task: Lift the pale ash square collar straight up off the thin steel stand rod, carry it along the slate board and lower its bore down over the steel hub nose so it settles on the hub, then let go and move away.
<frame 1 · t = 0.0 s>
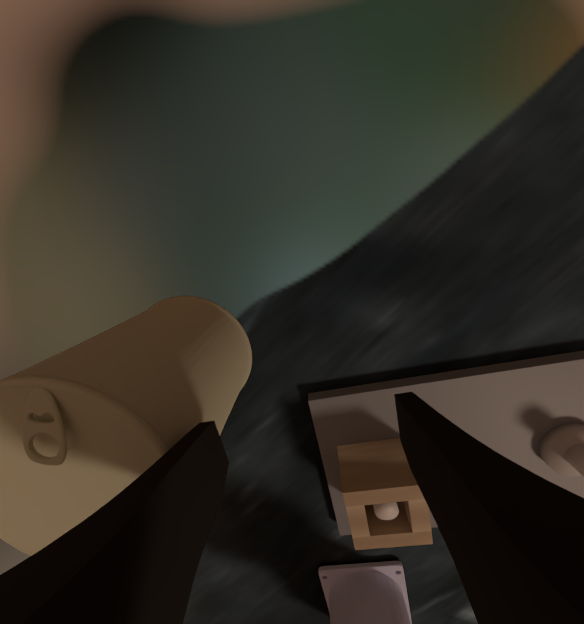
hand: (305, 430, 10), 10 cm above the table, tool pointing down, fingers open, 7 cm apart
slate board: (460, 447, 22), on the table
can: (194, 352, 21), on the table, touching gripper
ash collar: (375, 468, 22), point 1 cm above the table, touching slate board
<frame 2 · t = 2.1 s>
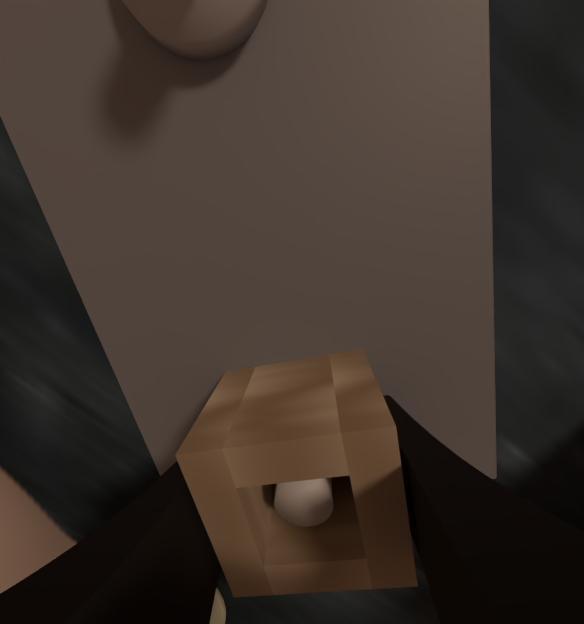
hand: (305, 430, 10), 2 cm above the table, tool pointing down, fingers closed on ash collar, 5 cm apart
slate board: (267, 239, 10), on the table
can: (153, 596, 17), on the table
ash collar: (305, 419, 11), point 1 cm above the table, touching gripper, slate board
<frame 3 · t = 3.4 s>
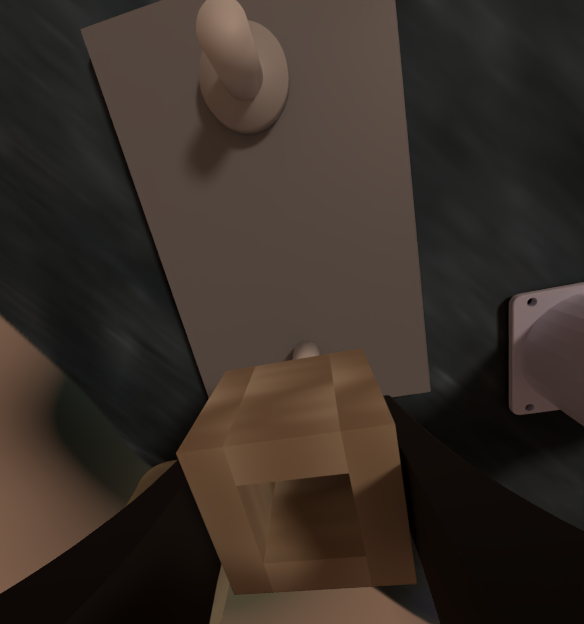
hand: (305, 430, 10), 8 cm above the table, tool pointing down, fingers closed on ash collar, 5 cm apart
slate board: (282, 236, 16), on the table
can: (193, 501, 22), on the table
ash collar: (305, 418, 11), point 7 cm above the table, touching gripper
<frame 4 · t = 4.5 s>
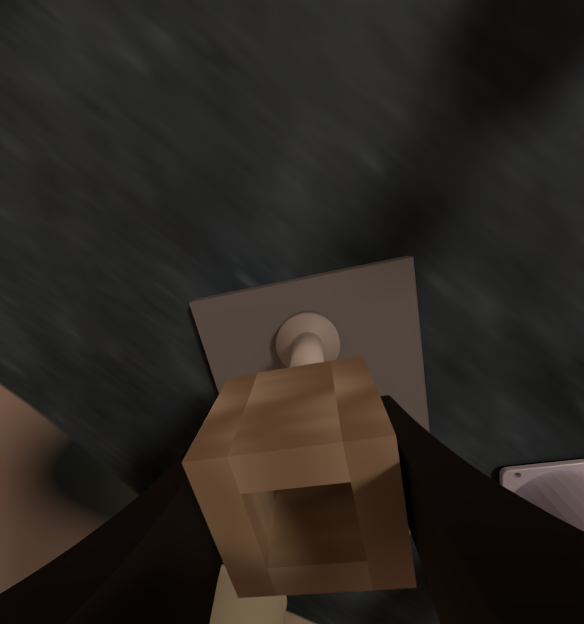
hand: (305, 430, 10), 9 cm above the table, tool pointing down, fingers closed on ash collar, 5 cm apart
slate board: (326, 420, 20), on the table
can: (241, 592, 27), on the table
ash collar: (307, 423, 11), point 8 cm above the table, touching gripper
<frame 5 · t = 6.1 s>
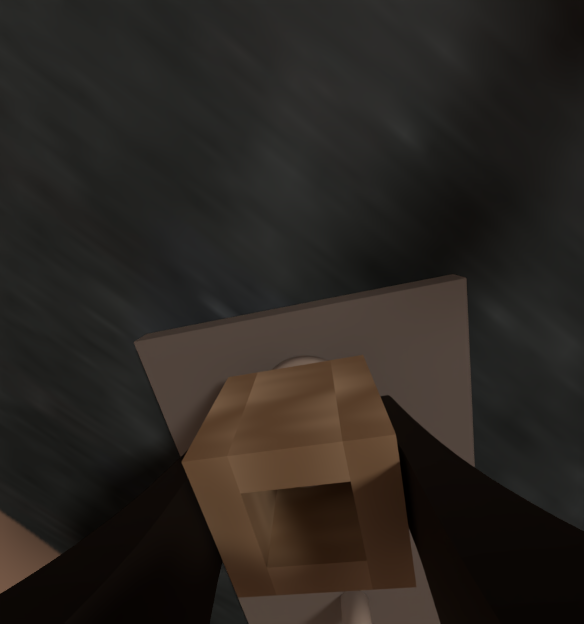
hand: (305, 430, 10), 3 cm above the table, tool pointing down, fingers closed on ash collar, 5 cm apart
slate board: (332, 493, 15), on the table
ash collar: (307, 423, 11), point 2 cm above the table, touching gripper
when the fingers open (3 cm above the table, at t = 7.1 s): ash collar stays where it is, resting on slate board.
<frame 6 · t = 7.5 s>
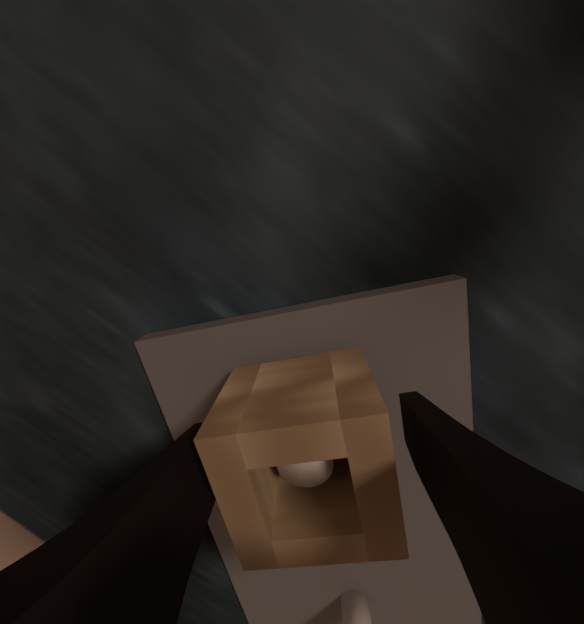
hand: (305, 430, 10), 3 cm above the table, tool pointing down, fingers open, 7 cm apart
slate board: (332, 493, 15), on the table
ash collar: (308, 412, 12), point 2 cm above the table, touching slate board
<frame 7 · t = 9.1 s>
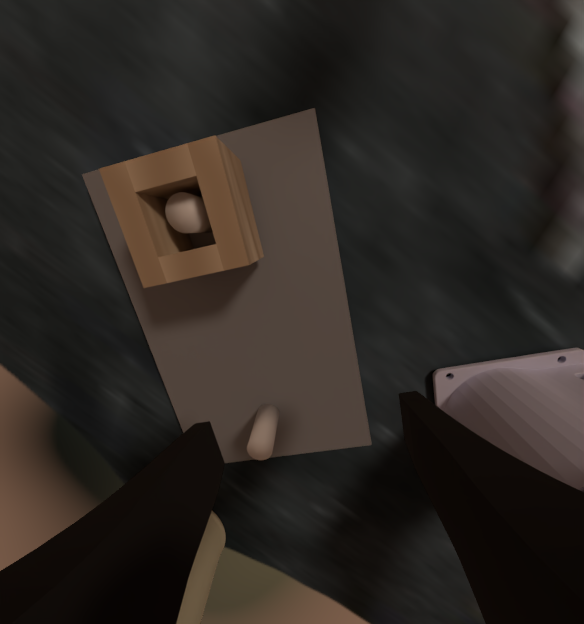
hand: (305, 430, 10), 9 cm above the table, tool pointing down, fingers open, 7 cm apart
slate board: (246, 320, 19), on the table
can: (179, 527, 26), on the table
ash collar: (209, 221, 16), point 2 cm above the table, touching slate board
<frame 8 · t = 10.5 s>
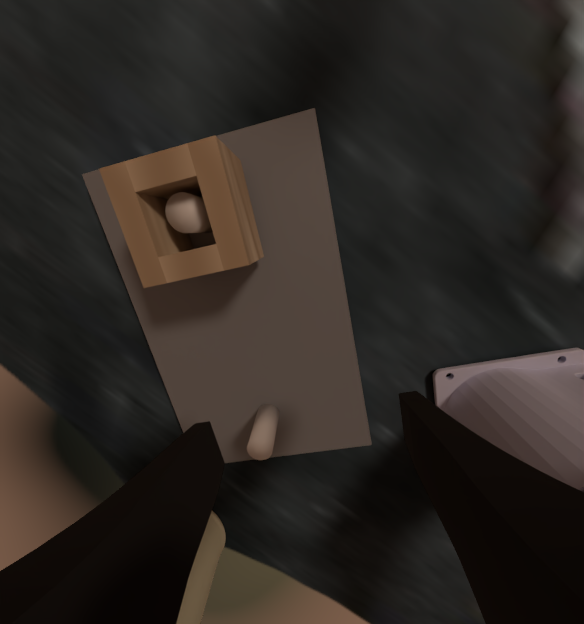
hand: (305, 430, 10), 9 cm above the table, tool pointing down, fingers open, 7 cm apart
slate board: (246, 320, 19), on the table
can: (179, 527, 26), on the table
ash collar: (209, 221, 16), point 2 cm above the table, touching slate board
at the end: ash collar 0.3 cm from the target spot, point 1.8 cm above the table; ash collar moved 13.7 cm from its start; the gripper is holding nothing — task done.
